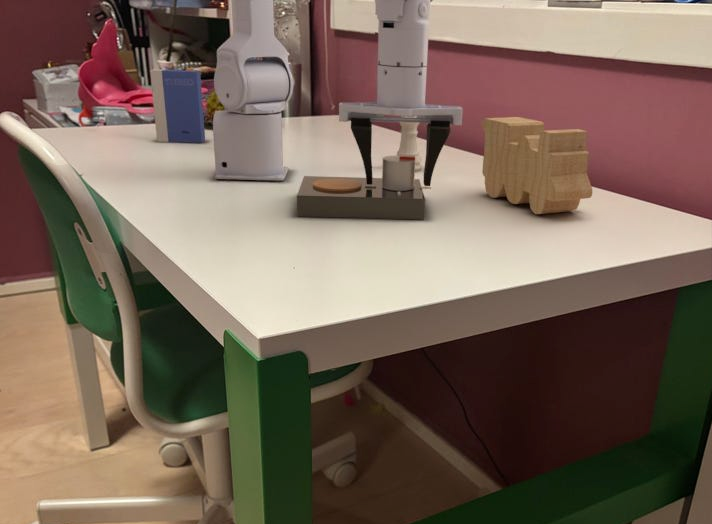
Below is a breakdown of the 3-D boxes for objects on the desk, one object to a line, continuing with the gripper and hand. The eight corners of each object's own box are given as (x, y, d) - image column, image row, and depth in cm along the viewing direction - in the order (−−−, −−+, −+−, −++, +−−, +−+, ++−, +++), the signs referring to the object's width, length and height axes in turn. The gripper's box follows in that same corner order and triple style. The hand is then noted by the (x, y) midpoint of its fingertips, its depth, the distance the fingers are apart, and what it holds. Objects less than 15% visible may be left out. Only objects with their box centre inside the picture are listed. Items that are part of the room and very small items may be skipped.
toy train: (553, 221, 89) (563, 135, 85) (476, 191, 103) (482, 116, 98) (588, 217, 91) (601, 134, 87) (509, 188, 105) (516, 115, 101)
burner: (311, 190, 88) (311, 188, 88) (314, 180, 94) (314, 177, 94) (361, 192, 89) (361, 189, 88) (361, 181, 94) (361, 179, 94)
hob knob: (382, 190, 90) (382, 158, 88) (381, 183, 93) (382, 152, 92) (415, 191, 90) (416, 159, 88) (413, 184, 93) (414, 153, 92)
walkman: (205, 140, 132) (200, 68, 127) (201, 143, 129) (196, 69, 124) (160, 139, 132) (153, 66, 126) (156, 141, 129) (149, 68, 124)
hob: (297, 216, 87) (296, 193, 86) (304, 195, 97) (303, 174, 96) (433, 220, 88) (434, 197, 87) (426, 198, 98) (427, 178, 97)
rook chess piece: (419, 172, 113) (421, 118, 109) (390, 170, 114) (392, 116, 110) (424, 167, 117) (426, 114, 113) (396, 165, 118) (398, 112, 114)
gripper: (338, 65, 81) (338, 189, 87) (468, 70, 82) (460, 192, 88) (340, 61, 88) (340, 176, 94) (461, 65, 89) (454, 179, 94)
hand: (398, 183), depth 91 cm, fingers open, 6 cm apart
